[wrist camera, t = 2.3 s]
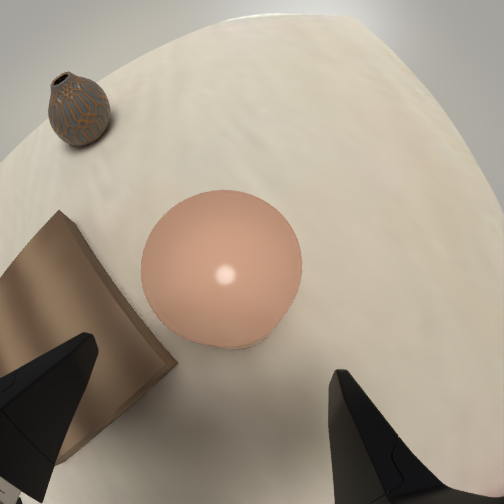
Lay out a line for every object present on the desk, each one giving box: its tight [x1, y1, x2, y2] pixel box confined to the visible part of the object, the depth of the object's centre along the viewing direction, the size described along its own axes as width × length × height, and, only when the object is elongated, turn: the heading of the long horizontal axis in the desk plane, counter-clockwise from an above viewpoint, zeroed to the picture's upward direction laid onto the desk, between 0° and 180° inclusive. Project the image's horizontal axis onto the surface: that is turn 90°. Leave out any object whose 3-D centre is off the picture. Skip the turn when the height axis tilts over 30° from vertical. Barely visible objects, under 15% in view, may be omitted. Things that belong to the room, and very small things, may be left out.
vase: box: [48, 72, 110, 146], centre depth 23 cm, size 7×7×9 cm
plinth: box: [0, 210, 178, 466], centre depth 18 cm, size 16×16×3 cm
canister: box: [141, 190, 302, 349], centre depth 16 cm, size 6×6×11 cm
